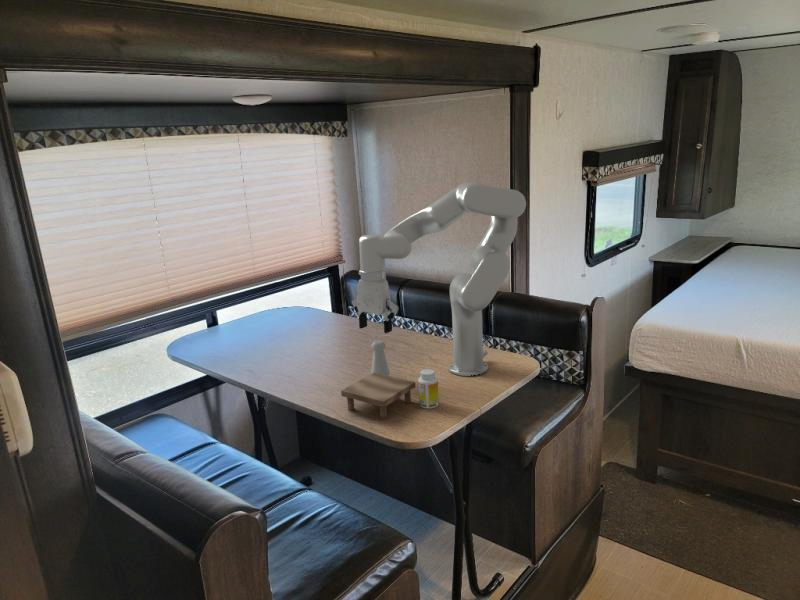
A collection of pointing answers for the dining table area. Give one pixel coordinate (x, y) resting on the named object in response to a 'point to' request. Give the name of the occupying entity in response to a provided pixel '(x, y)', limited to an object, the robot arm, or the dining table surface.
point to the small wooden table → (378, 391)
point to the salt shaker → (379, 359)
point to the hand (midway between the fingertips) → (375, 329)
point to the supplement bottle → (428, 389)
